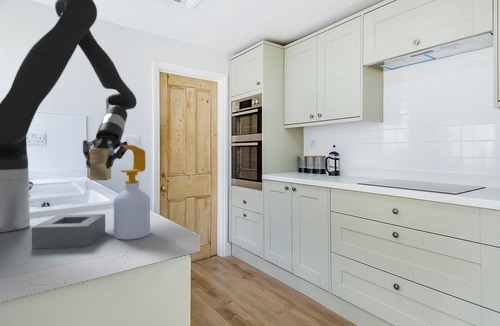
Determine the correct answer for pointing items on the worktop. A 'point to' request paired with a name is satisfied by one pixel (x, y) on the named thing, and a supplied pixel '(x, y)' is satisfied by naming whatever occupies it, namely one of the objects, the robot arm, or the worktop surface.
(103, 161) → the oak post
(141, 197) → the soap bottle
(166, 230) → the worktop surface
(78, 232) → the well
